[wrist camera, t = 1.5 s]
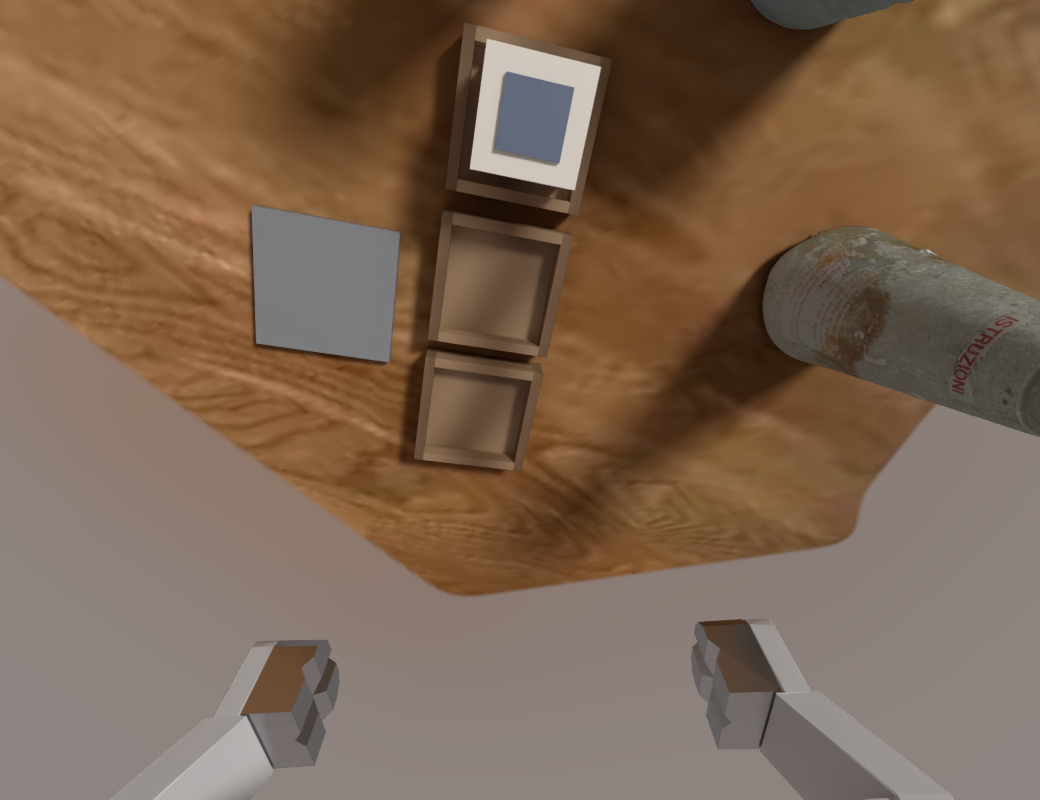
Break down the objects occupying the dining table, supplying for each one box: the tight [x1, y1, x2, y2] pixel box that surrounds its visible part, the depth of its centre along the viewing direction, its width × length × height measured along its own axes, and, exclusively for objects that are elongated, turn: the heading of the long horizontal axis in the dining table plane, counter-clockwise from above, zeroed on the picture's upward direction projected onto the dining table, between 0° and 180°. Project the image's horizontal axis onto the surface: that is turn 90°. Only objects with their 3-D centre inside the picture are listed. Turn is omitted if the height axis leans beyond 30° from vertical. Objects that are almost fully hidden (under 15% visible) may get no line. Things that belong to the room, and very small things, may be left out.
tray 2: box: [428, 209, 573, 358], centre depth 29 cm, size 7×7×2 cm
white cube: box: [470, 39, 601, 190], centre depth 24 cm, size 5×5×5 cm
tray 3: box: [414, 347, 543, 471], centre depth 33 cm, size 7×7×2 cm
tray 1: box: [445, 22, 613, 215], centre depth 26 cm, size 7×7×2 cm
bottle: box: [763, 226, 1040, 437], centre depth 20 cm, size 9×9×28 cm
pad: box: [252, 205, 401, 362], centre depth 29 cm, size 8×8×1 cm
